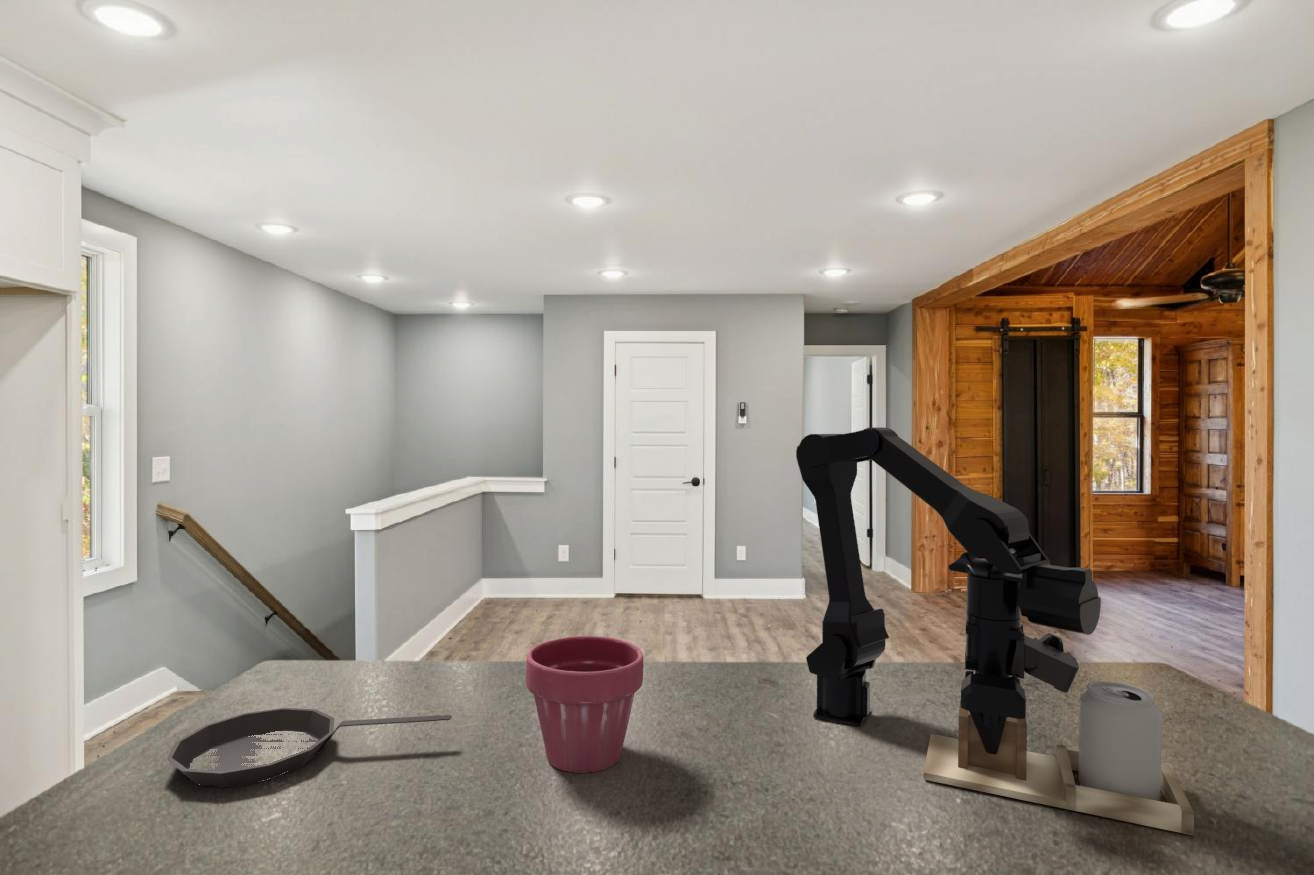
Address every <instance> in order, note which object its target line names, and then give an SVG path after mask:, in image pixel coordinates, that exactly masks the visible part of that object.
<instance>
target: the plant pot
mask: <svg viewBox="0 0 1314 875" xmlns="http://www.w3.org/2000/svg"><path fill="white" fill-rule="evenodd" d="M525 664H526V665H525V666H526V667H525V685H526V688H527V690H528V691H529V692H530V693H531V694H533V696H534V697H533V698H534V701H535V706H536V712H537V716H538V721H539V726H540V730H541V731H540V732H541V735H542V740H543V745H544V750H545V756H546V759H547V762H548V763H549V764H550V765H551V766H552V765H553V766H552V767H554V768H556V769H558V770H560V771H562V772H563V771H564V772H566V771H568V772H567V773H572V772H574V773H573V774H589V772H591V773H594V772H595V773H596V772H600V771H603V770H606V769H608V768H611V767H612V766H613V765H615V764H616V763H618V761H619V760H620V758H621V755H622V752H623V747H624V743H625V739H626V734H627V732H628V731H627V730H628V726H629V722H630V717H631V712H632V707H633V702H634V697H635V694H636V692H638V691H639V689H640V688H641V687H642V686H643V681H644V654H643V651H642V649H641V648H640V647H639V646H637V645H635V644H633V643H632V642H629V641H626V640H623V639H619V638H615V637H609V636H599V635H580V636H579V635H578V636H577V635H576V636H566V637H560V638H554V639H551V640H547V641H544V642H541V643H538V644H537V645H535V646H533V647H531V648H530V649H529V650H528V652H527V654H526V662H525Z"/></svg>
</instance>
